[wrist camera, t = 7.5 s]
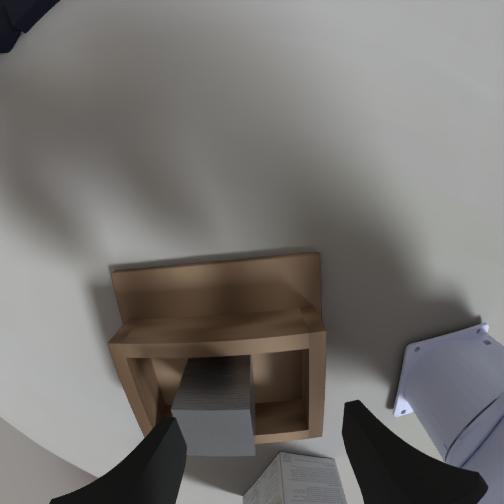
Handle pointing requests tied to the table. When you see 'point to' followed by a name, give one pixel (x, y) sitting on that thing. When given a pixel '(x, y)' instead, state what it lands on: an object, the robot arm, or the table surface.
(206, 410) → the steel block
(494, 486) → the robot arm
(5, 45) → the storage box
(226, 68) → the table surface
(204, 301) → the walnut well
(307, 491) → the light bulb box
